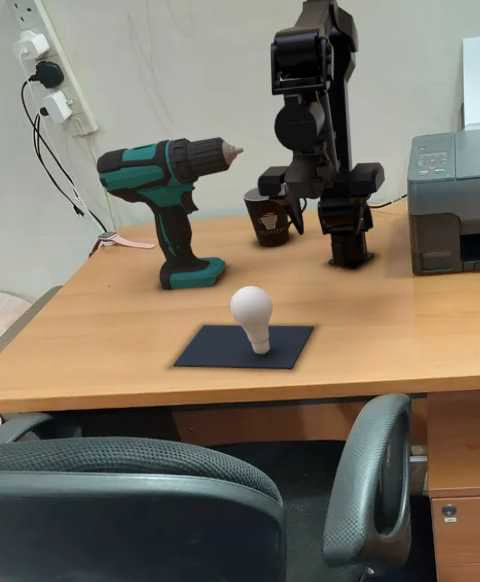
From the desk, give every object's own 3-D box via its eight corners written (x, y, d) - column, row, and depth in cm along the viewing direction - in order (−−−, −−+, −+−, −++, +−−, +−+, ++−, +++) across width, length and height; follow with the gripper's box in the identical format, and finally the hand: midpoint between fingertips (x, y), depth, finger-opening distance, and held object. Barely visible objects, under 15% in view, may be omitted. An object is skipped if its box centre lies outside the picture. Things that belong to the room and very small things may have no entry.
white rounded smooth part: (246, 368, 99) (228, 302, 92) (240, 348, 104) (223, 284, 97) (285, 358, 100) (271, 292, 93) (278, 339, 105) (264, 275, 98)
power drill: (274, 262, 129) (245, 125, 113) (264, 283, 122) (232, 140, 106) (148, 271, 133) (103, 140, 117) (132, 292, 126) (82, 155, 110)
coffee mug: (247, 249, 135) (235, 200, 129) (263, 232, 142) (253, 185, 135) (299, 250, 132) (290, 200, 126) (314, 232, 138) (306, 184, 132)
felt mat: (313, 327, 107) (313, 326, 107) (292, 369, 98) (291, 367, 98) (203, 326, 112) (203, 325, 112) (173, 366, 103) (173, 364, 103)
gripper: (231, 150, 92) (256, 255, 102) (359, 144, 87) (372, 256, 97) (261, 127, 100) (281, 226, 110) (380, 120, 95) (390, 225, 105)
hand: (328, 234), depth 105 cm, fingers open, 9 cm apart
